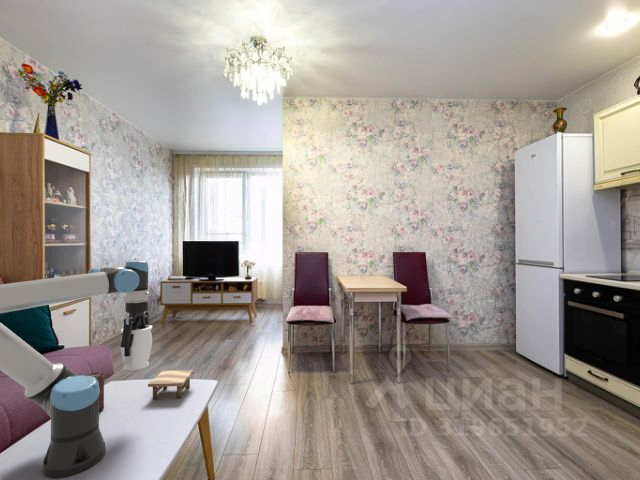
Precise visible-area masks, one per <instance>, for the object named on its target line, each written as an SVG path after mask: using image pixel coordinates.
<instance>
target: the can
mask: <svg viewBox="0 0 640 480" xmlns="http://www.w3.org/2000/svg"><path fill="white" fill-rule="evenodd" d="M87 376H92V377H94V378H96V379H97V380H98V383H99V388H100V394H99V413H101V412H102V411H103V410H104V408H105V386H104V385H105V375H104V373H103V372H94V373H90V374H88V375H87Z"/></svg>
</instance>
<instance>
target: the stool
mask: <svg viewBox="0 0 640 480" xmlns="http://www.w3.org/2000/svg"><path fill="white" fill-rule="evenodd" d="M193 374H195V373H194V370H193V369H189V370H187V369H186V370H184V369H182V370H162V371H161V372H160V373H158V375H156V376H155V377H154V378H153V379H152V380H150V381H149V382H148V383H147V387H148V388H152V400H158V393H159V392H160V391H161V390H162V389H163V390H166V389H168V387H176V399H177V400H179V399H182V396H183V395H182V392H183V391H184V390H185V389H190V388H191V383H190V382H191V381H190V380H191V376H192V375H193Z"/></svg>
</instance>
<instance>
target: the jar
mask: <svg viewBox="0 0 640 480" xmlns="http://www.w3.org/2000/svg"><path fill="white" fill-rule="evenodd" d="M145 326H146V328H145V329H141V330H139V329H136V330H132V331H131V334H134V338H133V343H132V346H133V364H132V365H123V367H122V368H123V370H125V371H128V372H131V371H132V372H133V371H138V370H139V371H140V370H142V369H145V368H147V367H148V366H149V365H150V363H149V359H150V356H151V351H152V347H153V334H152V329H153V325H151V324H150V325H145ZM123 328H124V327H122V328H121V329H120V333H121V334H122V333H123ZM121 339H122V336H121V337H120V340H121ZM120 345H121V343H120ZM120 345H119V346H120ZM120 353H121V358H122V362H123V363H124V347H120Z"/></svg>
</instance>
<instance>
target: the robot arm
mask: <svg viewBox="0 0 640 480" xmlns="http://www.w3.org/2000/svg"><path fill="white" fill-rule="evenodd" d="M115 293H123V294H125V302H126V303H125V313H127V314H129V315H128V318H124V319H123V327H122V328H123V333H121V337H122V339H121V338H120V344H121V345H119V346H120V348H121V347H124V362H123V364H124V365H123V366H125V365H132V364H133V346H132V343H133V338H134V334H131V331H132V330H136V329H139V330H141V329H145V328H146V326H145V325H151V324H150V319H149V311H148V310H149V301H148V300H149V294H150V292H149V264H148V262H147V261H145V260H128V261H126V262H125V266H115V267H114V266H113V267H112V266H111V267H101V266H100V267H95V268H90V269H89V271H88V273H80V274H73V275H64V276H57V277H50V278H41V279H34V280H27V281H19V282H10V283H4V284H3V283H1V284H0V314H4V313H10V312H15V311H22V310H26V309H31V308H37V307H42V306H43V307H45V306H48V305H54V304H60V303H65V302H71V301H77V300H83V299H87V298H93V297H98V296H103V295H104V296H105V295H110V294H111V295H112V294H115ZM0 371H1V372H2V373H4V374H5V375H7V376H8V377H9V378H11V379H12V380H14V381H15V382H16V383H18V384H19V385H21V387H23V388H24V396H25V397H26V398H27V399H29V400H30V401H32V402H33V403H34V404H36V405H38V407H39V408H41V409H42V410H44V411H45V413H46V414H47V415H48V416H49V417H50V443H49V445H48V447H47V450H46V453H45V456H44V458H43V461H42V474H43V475H44V476H45V477H47V478H52V479H53V478H54V479H57V478H59V479H60V478H66V477H69V476H73V475H77V474H79V473H81V472H84V471H86V470H88V469H90V468H92V467H93V466H95V465H96V464H97V463H99V462H100V461H101V460H102V459H103V457H104V456H105V454H106V449H107V447H106V446H107V445H106V441H105V440H104V436H103V435H102V434H103V433H102V432H101V428H100V412H99V394H100V388H99V383H98V380H97V379H96V378H94V377H92V376H88V375H78V374H77V373H76V372H74V371H72V370H71V369H69V368H68V367H67V366H66V365H64V364H63V363H62V362H58V363H52V362H51V361H50V360H48V358H46V357H45V356H44V355H42V354H41V353H40V352H38V351H37V350H36V349H34V347H33V346H31V345H30V344H29V343H27V342H26V341H25V340H23V339H22V338H21V337H20V336H18V335H17V334H16V333H15V332H13V331H12V330H11V329H9V328H8V327H7V326H6V325H4V324H3V323H2V322H0Z"/></svg>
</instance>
